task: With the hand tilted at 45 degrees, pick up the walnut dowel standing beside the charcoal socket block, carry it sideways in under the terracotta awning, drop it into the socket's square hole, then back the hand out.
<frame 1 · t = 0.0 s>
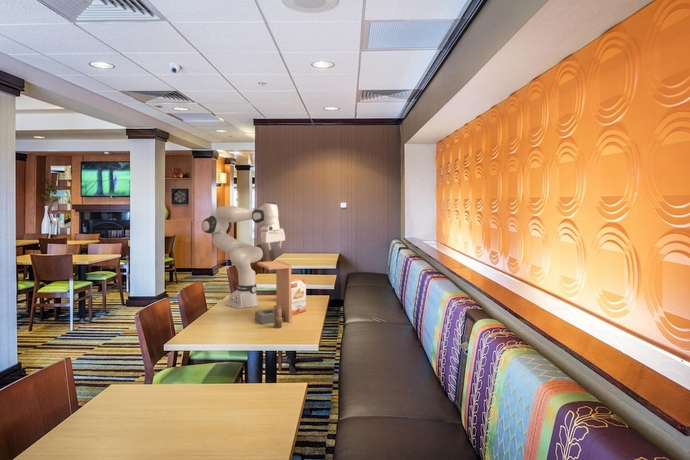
hand: (274, 249, 265), 39 cm above the table, tool pointing down, fingers open, 8 cm apart
peg: (278, 327, 230), on the table
cracker box: (295, 313, 260), on the table
awning: (268, 320, 243), on the table
socket: (268, 320, 243), on the table
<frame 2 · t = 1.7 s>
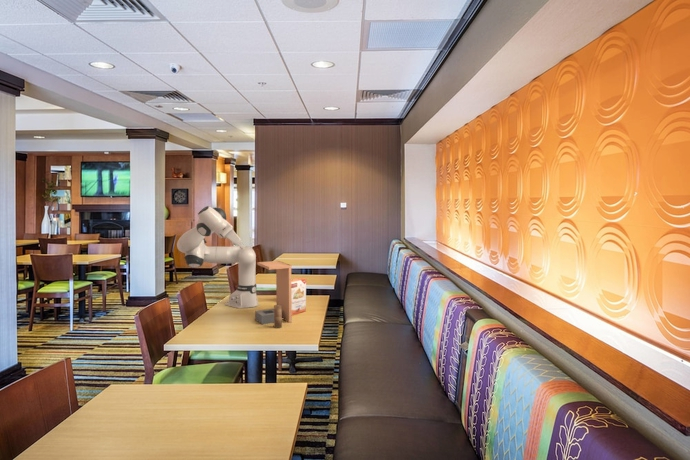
hand: (243, 248, 228), 44 cm above the table, tool tilted 45°, fingers open, 8 cm apart
nothing on the table moved.
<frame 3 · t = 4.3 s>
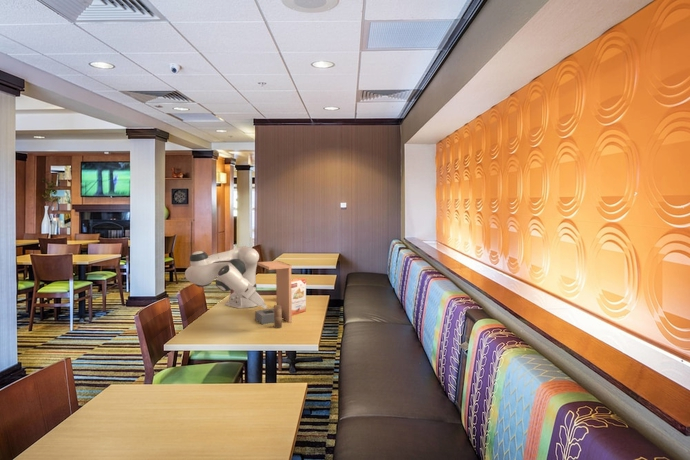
hand: (262, 305, 225), 13 cm above the table, tool tilted 45°, fingers open, 8 cm apart
nothing on the table moved.
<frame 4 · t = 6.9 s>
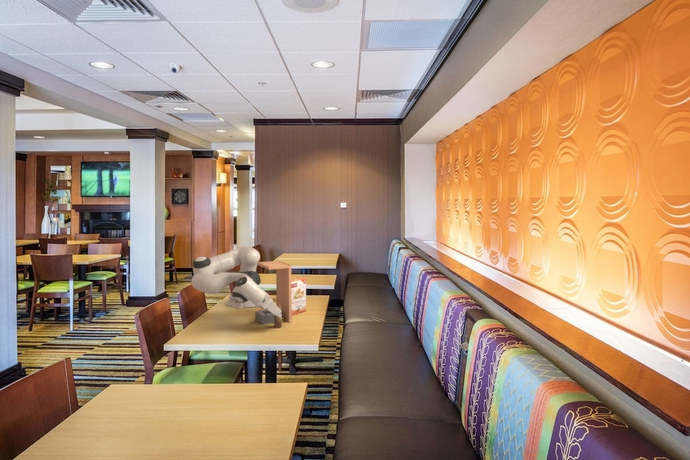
hand: (278, 315, 230), 7 cm above the table, tool tilted 45°, fingers closed on peg, 4 cm apart
peg: (278, 327, 230), on the table, touching gripper
everything else where it was.
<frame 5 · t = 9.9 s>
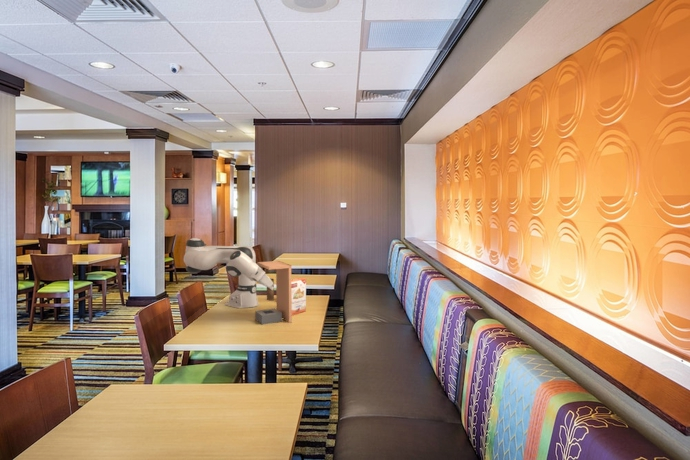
hand: (271, 288, 241), 19 cm above the table, tool tilted 45°, fingers closed on peg, 4 cm apart
peg: (270, 299, 241), point 13 cm above the table, touching gripper
everything else where it was.
when the fingers open (9 cm above the table, at t = 12.8 s): peg drops 3 cm, resting in socket.
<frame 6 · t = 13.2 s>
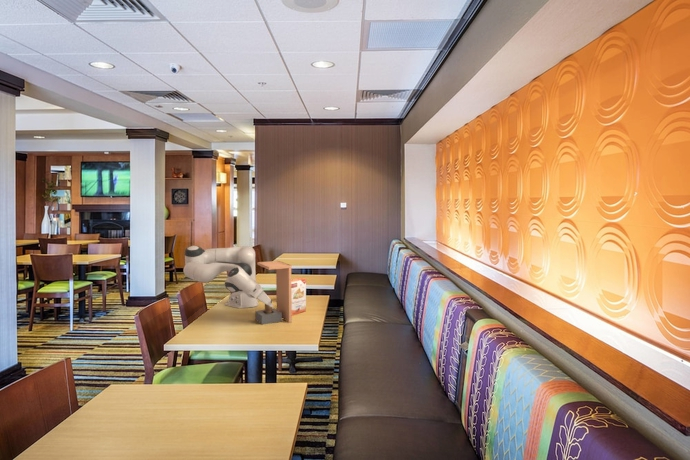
hand: (269, 304, 243), 9 cm above the table, tool tilted 45°, fingers open, 8 cm apart
peg: (268, 320, 243), resting in socket
everything else where it was.
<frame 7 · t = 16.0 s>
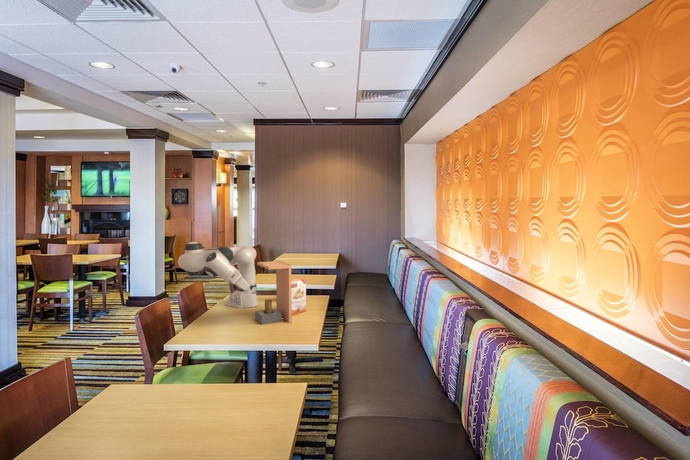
hand: (249, 291, 236), 18 cm above the table, tool tilted 45°, fingers open, 8 cm apart
nothing on the table moved.
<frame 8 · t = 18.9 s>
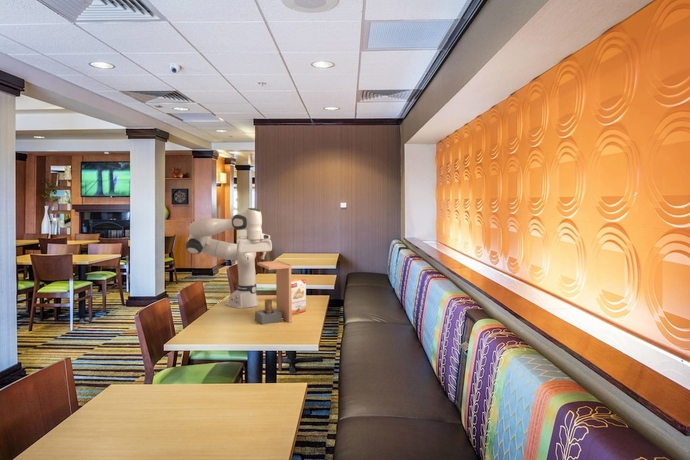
hand: (254, 259, 244), 35 cm above the table, tool pointing down, fingers open, 8 cm apart
nothing on the table moved.
at the end: peg 0.1 cm off-centre on the socket, point 0.0 cm above the socket's base; peg tilted 0°; the gripper is holding nothing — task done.
